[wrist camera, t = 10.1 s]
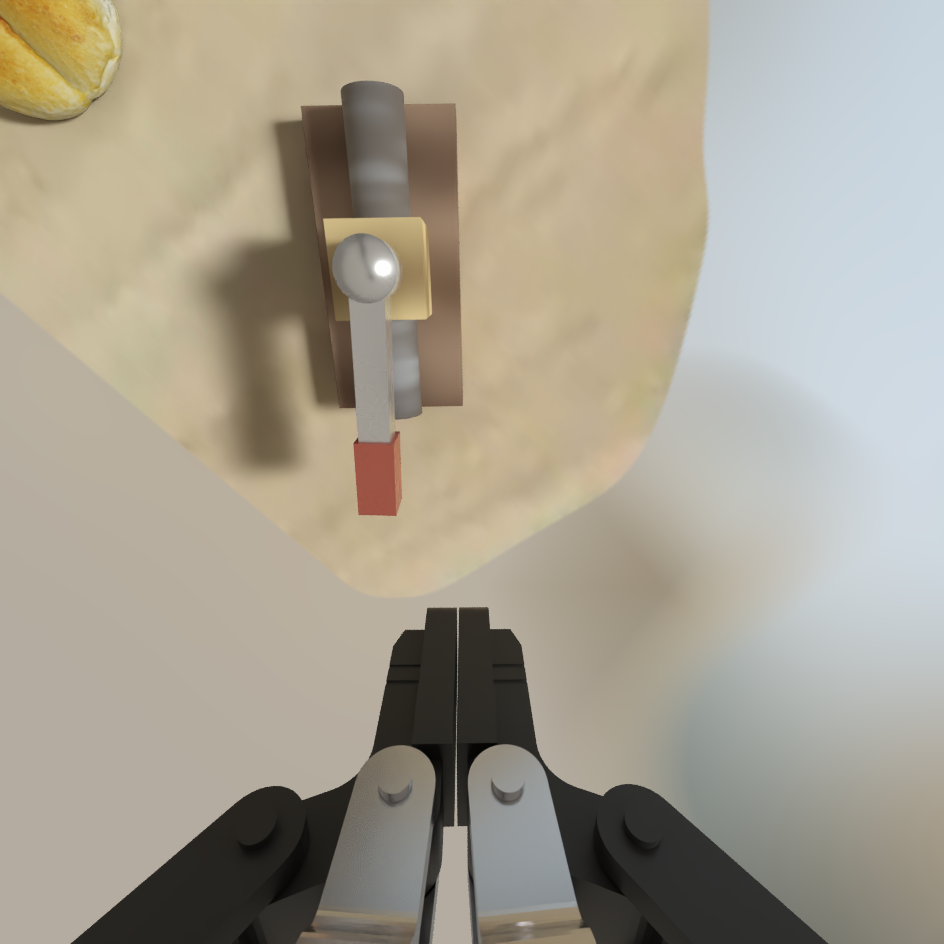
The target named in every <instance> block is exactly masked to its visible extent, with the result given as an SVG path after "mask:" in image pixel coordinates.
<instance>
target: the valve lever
mask: <svg viewBox="0 0 944 944" xmlns="http://www.w3.org/2000/svg"><path fill="white" fill-rule="evenodd" d="M332 270H333V275H334V278H335V281H336V283H337V285H338V287H339V288H340V290H341V291H342V292H343V293H344V294H345V295H346V296H348V297H349V310H350V325H351V340H352V355H353V369H354V384H355V399H356V414H357V429H358V438H357V440H356V441H355V442H354V457H355V471H356V485H357V499H358V513H359V515H387V516H396V515H397V512H398V509H399V505H400V502H401V499H402V489H401V457H400V432H396V431H395V404H394V375H393V346H392V317H391V297H392V296H393V295H394V294H396V292H397V291H398V290H399V288H400V286H401V284H402V280H403V265H402V261H401V259H400V256H399V255H398V253H397V251H396V250H395V249H394V248H393V247H392V246H391V245H390V244H388V243H387V242H385V241H383V240H381V239H380V238H378V237H376V236H373V235H371V234H366V233H357V234H353V235H350V236H348V237H346V238H345V239H344V240H343V241H342V242H341V243H340V244H339V245H338V246H337V248H336V250H335V252H334V255H333V260H332Z"/></svg>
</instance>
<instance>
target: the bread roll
mask: <svg viewBox="0 0 944 944" xmlns="http://www.w3.org/2000/svg"><path fill="white" fill-rule="evenodd" d="M121 56H122V36H121V28H120V22H119V16H118V13H117V11H116V9H115V7H114V5H113V3H112V1H111V0H0V105H1V106H3V107H5V108H7V109H10V110H13V111H16V112H17V113H21V114H25V115H28V116H30V117H36V118H40V119H45V120H63V119H69V118H72V117H75V116H77V115H80V114H81V113H83V112H84V111H86V110H87V109H88V107H89V106H90V104H91V102H92V100H93V99H95V98H97V97H98V96H100V95H102V94H103V93H104V92H106V91H107V90H108V88H109V87H110V85H111V84H112V82H113V80H114V77H115V75H116V73H117V71H118V69H119V65H120V60H121Z"/></svg>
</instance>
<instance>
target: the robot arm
mask: <svg viewBox="0 0 944 944" xmlns="http://www.w3.org/2000/svg"><path fill="white" fill-rule="evenodd" d="M457 699H458V700H457ZM457 703H458V704H457ZM456 708H457V709H456ZM456 710H457V711H456ZM456 712H457V813H458V814H457V816H458V826H468V890H469V905H470V920H471V935H472V944H828V943H827V942H826V941H825V940H823V939H822V938H821V937H820V936H819V935H818V934H817V933H816V932H814V931H813V930H812V929H811V928H810V927H809V926H808V925H806V924H805V923H804V922H803V921H802V920H801V919H800V918H798V917H797V916H796V915H795V914H794V913H793V912H792V911H790V910H789V909H788V908H787V907H786V906H785V905H784V904H783V903H781V902H780V901H779V900H778V899H777V898H776V897H775V896H774V895H772V894H771V893H770V892H769V891H768V890H767V889H766V888H765V887H763V886H762V885H761V884H760V883H759V882H758V881H757V880H755V879H754V878H753V877H752V876H751V875H750V874H749V873H748V872H746V871H745V870H744V869H743V868H742V867H741V866H740V865H738V864H737V863H736V862H735V861H734V860H733V859H731V857H729V856H728V855H727V854H726V853H724V851H722V850H721V849H720V848H719V847H718V846H717V845H716V844H715V843H714V842H712V841H711V840H710V839H709V838H708V837H707V836H705V835H704V834H703V833H702V832H701V831H700V830H699V829H698V828H696V827H695V826H694V825H693V824H692V823H691V822H690V821H689V820H687V819H686V818H685V817H684V816H683V815H682V814H680V813H679V812H678V811H677V810H676V809H675V808H674V807H672V805H670V804H669V803H668V802H667V801H666V800H665V799H663V798H662V797H661V796H660V795H658V794H657V793H655V792H653V791H652V790H649V789H647V788H645V787H641V786H638V785H632V784H624V785H619V786H615V787H614V788H612V789H610V790H609V791H608V792H606V793H605V794H604V796H600V795H597V794H595V793H592V792H588V791H586V790H583V789H580V788H577V787H574V786H572V785H569V784H567V783H565V782H564V781H562V780H561V779H559V778H558V777H557V776H555V775H554V774H553V773H552V772H551V771H550V770H549V769H548V767H547V766H546V765H545V763H544V762H543V760H542V758H541V757H540V754H539V752H538V749H537V744H536V738H535V732H534V725H533V718H532V712H531V706H530V699H529V692H528V686H527V682H526V673H525V668H524V660H523V653H522V647H521V644H520V643H519V641H518V640H517V638H516V637H515V636H514V634H513V633H512V631H511V630H510V629H490V624H489V610H488V608H487V607H485V608H484V607H482V608H481V607H479V608H478V607H477V608H475V607H473V608H470V607H469V608H459V648H458V698H457V608H427V614H426V623H425V630H405V631H404V632H403V634H402V635H401V636H400V638H399V639H398V640H397V642H396V643H395V645H394V646H393V650H392V656H391V660H390V668H389V671H388V676H387V684H386V686H385V691H384V696H383V701H382V706H381V711H380V716H379V721H378V726H377V731H376V736H375V741H374V746H373V750H372V753H371V755H370V757H369V759H368V761H367V762H366V763H365V764H364V765H363V767H362V768H361V770H360V772H359V773H358V774H357V775H356V776H355V777H353V778H352V779H351V780H350V781H348V782H347V783H345V784H343V785H342V786H340V787H338V788H335V789H333V790H331V791H328V792H325V793H322V794H319V795H316V796H313V797H310V798H308V799H305V800H301V799H300V797H299V796H298V795H297V794H296V793H295V792H294V791H293V790H291V789H289V788H285V787H282V786H271V787H265V788H262V789H259V790H256V791H254V792H252V793H250V794H248V795H247V796H245V797H243V798H242V799H241V800H239V801H238V802H237V803H235V804H234V805H233V806H232V807H231V808H230V809H229V810H227V811H226V812H225V813H224V814H223V815H221V816H220V817H219V818H218V819H217V820H215V822H213V823H212V824H211V825H210V826H208V827H207V828H206V829H205V830H204V831H203V832H201V833H200V834H199V835H198V836H197V837H195V838H194V839H193V840H192V841H191V842H190V843H188V844H187V845H186V846H185V847H184V848H183V849H181V850H180V851H179V852H178V853H177V854H176V855H174V856H173V857H172V858H171V859H170V860H168V861H167V862H166V863H165V864H164V865H163V866H161V867H160V868H159V869H158V870H157V871H156V872H155V873H153V874H152V875H151V876H150V877H148V878H147V879H146V880H145V881H144V882H143V883H141V884H140V885H139V886H138V887H137V888H136V889H134V890H133V891H132V892H131V893H130V894H129V895H127V896H126V897H125V898H124V899H123V900H122V901H120V902H119V903H118V904H117V905H116V906H115V907H113V908H112V909H111V910H110V911H109V912H107V913H106V914H105V915H104V916H103V917H101V918H100V919H99V920H98V921H97V922H96V923H95V924H93V925H92V926H91V927H90V928H89V929H87V930H86V931H85V932H84V933H83V934H82V935H80V936H79V937H78V938H77V939H76V940H74V941H73V942H72V943H71V944H432V938H433V930H434V920H435V911H436V901H437V892H438V883H439V872H440V868H441V862H442V846H443V827H445V826H448V827H449V826H454V809H455V760H456V759H455V758H456Z"/></svg>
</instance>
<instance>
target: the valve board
mask: <svg viewBox="0 0 944 944" xmlns="http://www.w3.org/2000/svg"><path fill="white" fill-rule="evenodd" d="M341 98H342V105H330V106H301V111H302V119H303V127H304V135H305V142H306V150H307V158H308V166H309V173H310V181H311V189H312V197H313V204H314V212H315V220H316V228H317V235H318V243H319V251H320V259H321V267H322V274H323V282H324V290H325V298H326V305H327V313H328V321H329V329H330V336H331V344H332V352H333V360H334V367H335V375H336V383H337V391H338V398H339V406H340V408H356V399H355V384H354V369H353V355H352V340H351V325H350V310H349V297H348V296H346V295H345V294H344V293H343V292H342V291H341V290H340V288H339V287H338V285H337V283H336V281H335V278H334V275H333V270H332V260H333V255H334V252H335V250H336V248H337V246H338V245H339V244H340V243H341V242H342V241H343V240H344V239H345V238H346V237H348V236H350V235H353V234H357V233H366V234H371V235H373V236H376V237H378V238H380V239H381V240H383V241H385V242H387V243H388V244H390V245H391V246H392V247H393V248H394V249H395V250H396V251H397V253H398V255H399V256H400V259H401V261H402V265H403V280H402V284H401V286H400V288H399V290H398V291H397V292H396V294H394V295H393V296H392V297H391V317H392V346H393V375H394V404H395V420H396V419H407V418H412V417H416V416H418V415H420V414H421V413H422V407H425V406H462V404H463V390H462V347H461V305H460V262H459V219H458V177H457V134H456V108H455V104H404V94H403V92H402V90H401V89H399V88H398V87H396V86H394V85H391V84H388V83H384V82H377V81H358V82H353V83H349V84H347V85H345V86H343V87H342V89H341Z"/></svg>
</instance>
